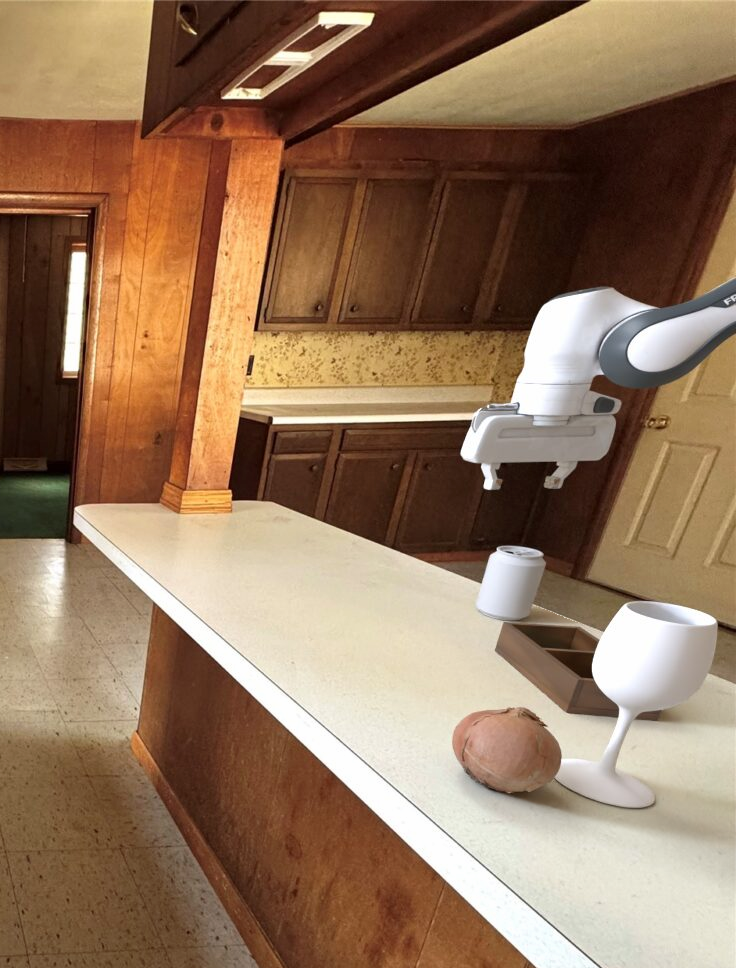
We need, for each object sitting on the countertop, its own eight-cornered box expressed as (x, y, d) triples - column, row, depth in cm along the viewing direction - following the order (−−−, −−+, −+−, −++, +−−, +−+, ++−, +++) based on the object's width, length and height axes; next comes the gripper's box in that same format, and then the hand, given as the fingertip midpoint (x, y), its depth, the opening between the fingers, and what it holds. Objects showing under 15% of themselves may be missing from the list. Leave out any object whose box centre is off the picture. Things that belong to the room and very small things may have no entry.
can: (464, 606, 121) (481, 544, 117) (506, 605, 121) (525, 543, 117) (494, 622, 114) (514, 557, 110) (539, 622, 114) (561, 556, 110)
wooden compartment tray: (569, 655, 103) (579, 626, 101) (657, 720, 85) (672, 687, 84) (494, 650, 105) (503, 621, 103) (566, 712, 88) (578, 679, 86)
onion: (491, 787, 79) (529, 711, 78) (561, 821, 70) (606, 736, 69) (417, 759, 79) (454, 683, 78) (477, 789, 70) (520, 703, 69)
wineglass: (617, 816, 70) (695, 636, 62) (529, 768, 77) (588, 603, 70) (675, 799, 72) (757, 623, 64) (583, 754, 79) (646, 592, 72)
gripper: (491, 405, 102) (467, 494, 107) (634, 401, 100) (603, 491, 105) (464, 401, 108) (442, 485, 113) (598, 397, 106) (570, 483, 111)
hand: (521, 488), depth 109 cm, fingers open, 8 cm apart
